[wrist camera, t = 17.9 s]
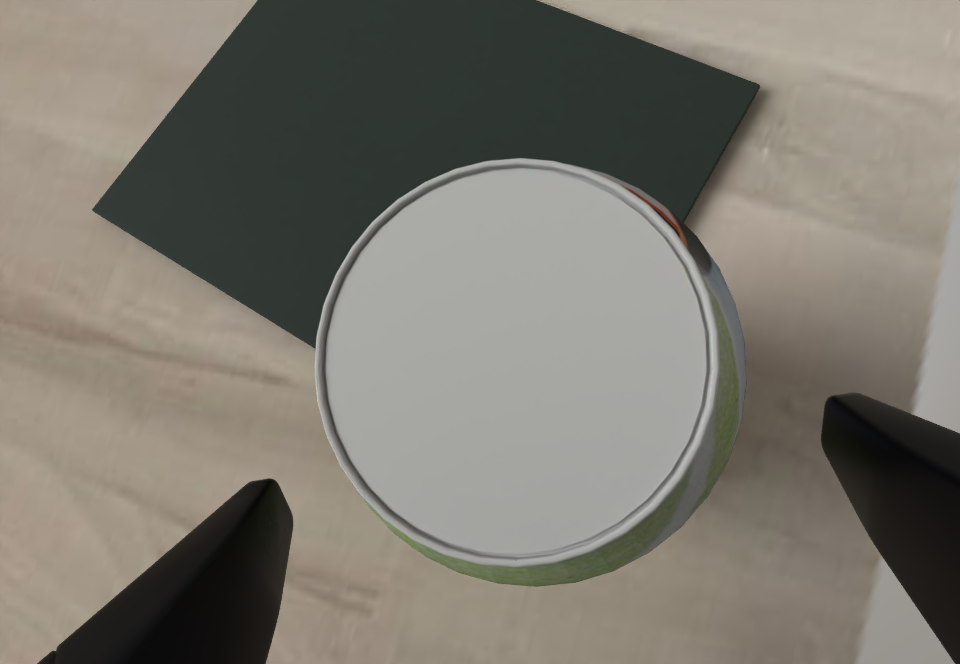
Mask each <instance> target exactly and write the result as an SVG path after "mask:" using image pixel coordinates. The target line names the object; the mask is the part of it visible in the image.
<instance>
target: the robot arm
mask: <svg viewBox="0 0 960 664" xmlns="http://www.w3.org/2000/svg"><path fill="white" fill-rule="evenodd" d="M821 443H822V447H823V450H824V453H825V455H826V457H827V459H828V460H829V462H830V464H831V466H832V468H833V470H834V472H835V474H836V475H837V477H838V479H839V481H840V483H841V485H842V487H843V489H844V491H845V492H846V494H847V496H848V498H849V500H850V502H851V504H852V506H853V507H854V509H855V511H856V513H857V515H858V517H859V519H860V521H861V522H862V524H863V526H864V528H865V530H866V531H867V533H868V535H869V537H870V538H871V540H872V541H873V543H874V545H875V546H876V548H877V549H878V551H879V552H880V554H881V555H882V557H883V558H884V560H885V561H886V563H887V564H888V566H889V567H890V568H891V570H892V571H893V573H894V574H895V576H896V577H897V579H898V580H899V582H900V583H901V585H902V586H903V588H904V589H905V590H906V592H907V593H908V595H909V596H910V598H911V599H912V601H913V602H914V604H915V605H916V607H917V608H918V610H919V611H920V613H921V614H922V616H923V617H924V619H925V620H926V621H927V623H928V624H929V626H930V627H931V629H932V630H933V632H934V633H935V635H936V636H937V637H938V639H939V641H940V642H941V644H942V645H943V646H944V648H945V649H946V651H947V652H948V654H949V655H950V657H951V658H952V660H953V661H954V663H955V664H960V434H959V433H957V432H955V431H952V430H950V429H947V428H945V427H942V426H940V425H937V424H934V423H932V422H930V421H927V420H925V419H922V418H920V417H917V416H915V415H912V414H910V413H907V412H905V411H902V410H900V409H897V408H895V407H892V406H890V405H887V404H885V403H882V402H880V401H877V400H875V399H872V398H870V397H867V396H865V395H862V394H859V393H847V394H840V395H834V396H831V397H829V398H828V399H827V401H826V403H825V408H824V417H823V425H822V434H821ZM292 531H293V516H292V513H291V510H290V508H289V506H288V504H287V501H286V499H285V497H284V495H283V493H282V491H281V488H280V486H279V484H278V483H277V482H276V481H275V480H274V479H264V480H257V481H252V482H249V483H248V484H246V485H245V486H244V487H243V488H242V489H240V490H239V491H238V492H237V493H236V494H235V495H233V496H232V497H231V498H230V499H229V500H228V501H226V502H225V503H224V504H223V505H222V506H221V507H219V508H218V509H217V510H216V511H215V512H214V513H212V514H211V515H210V516H209V517H208V518H207V519H205V520H204V521H203V522H202V523H201V524H200V525H198V526H197V527H196V528H195V529H194V530H193V531H191V532H190V533H189V534H188V535H187V536H186V537H184V538H183V539H182V540H181V541H180V542H179V543H177V544H176V545H175V546H174V547H173V548H172V549H170V550H169V551H168V552H167V553H166V554H165V555H163V556H162V557H161V558H160V559H159V560H158V561H156V562H155V563H154V564H153V565H152V566H151V567H149V568H148V569H147V570H146V571H145V572H144V573H142V574H141V575H140V576H139V577H138V578H137V579H135V580H134V581H133V582H132V583H131V584H130V585H128V586H127V587H126V588H125V589H124V590H123V591H122V592H120V593H119V594H118V595H117V596H116V597H115V598H113V599H112V600H111V601H110V602H109V603H108V604H106V605H105V606H104V607H103V608H102V609H101V610H99V611H98V612H97V613H96V614H95V615H94V616H92V617H91V618H90V619H89V620H88V621H87V622H85V623H84V624H83V625H82V626H81V627H80V628H78V629H77V630H76V631H75V632H74V633H73V634H71V635H70V636H69V637H68V638H67V639H66V640H64V641H63V642H62V643H61V644H60V645H59V646H58V647H57V650H56V651H52V652H50V653H49V654H48V655H47V656H46V657H44V658H43V659H42V660H41V661H40V662H39V663H37V664H266V660H267V657H268V653H269V649H270V646H271V642H272V638H273V635H274V631H275V627H276V623H277V619H278V615H279V610H280V605H281V600H282V594H283V587H284V581H285V575H286V569H287V563H288V556H289V550H290V544H291V538H292Z"/></svg>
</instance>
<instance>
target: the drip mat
mask: <svg viewBox="0 0 960 664" xmlns="http://www.w3.org/2000/svg"><path fill="white" fill-rule="evenodd" d="M759 87H760V85H759V84H756V83H754V82H751V81H748V80H746V79H743V78H741V77H738V76H735V75H733V74H730V73H727V72H725V71H722V70H719V69H717V68H714V67H711V66H709V65H706V64H703V63H701V62H698V61H695V60H693V59H690V58H688V57H685V56H682V55H680V54H677V53H674V52H672V51H669V50H666V49H664V48H661V47H658V46H656V45H653V44H650V43H648V42H645V41H642V40H640V39H637V38H635V37H632V36H629V35H627V34H624V33H621V32H619V31H616V30H613V29H611V28H608V27H605V26H603V25H600V24H597V23H595V22H592V21H589V20H587V19H584V18H582V17H579V16H576V15H574V14H571V13H568V12H566V11H563V10H560V9H558V8H555V7H552V6H550V5H547V4H544V3H542V2H539V1H536V0H258V1H257V2H256V3H255V5H254V6H253V7H252V8H251V10H250V11H249V12H248V13H247V15H246V16H245V17H244V18H243V20H242V21H241V22H240V23H239V25H238V26H237V27H236V29H235V30H234V31H233V32H232V34H231V35H230V36H229V37H228V39H227V40H226V41H225V42H224V44H223V45H222V46H221V47H220V49H219V50H218V51H217V53H216V54H215V55H214V56H213V58H212V59H211V60H210V61H209V63H208V64H207V65H206V66H205V68H204V69H203V70H202V72H201V73H200V74H199V75H198V77H197V78H196V79H195V80H194V82H193V83H192V84H191V85H190V87H189V88H188V89H187V90H186V92H185V93H184V94H183V96H182V97H181V98H180V99H179V101H178V102H177V103H176V104H175V106H174V107H173V108H172V109H171V111H170V112H169V113H168V114H167V116H166V117H165V118H164V120H163V121H162V122H161V123H160V125H159V126H158V127H157V128H156V130H155V131H154V132H153V133H152V135H151V136H150V137H149V138H148V140H147V141H146V142H145V144H144V145H143V146H142V147H141V149H140V150H139V151H138V152H137V154H136V155H135V156H134V157H133V159H132V160H131V161H130V162H129V164H128V165H127V166H126V168H125V169H124V170H123V171H122V173H121V174H120V175H119V176H118V178H117V179H116V180H115V181H114V183H113V184H112V185H111V186H110V188H109V189H108V190H107V192H106V193H105V194H104V195H103V197H102V198H101V199H100V200H99V202H98V203H97V204H96V205H95V207H94V208H93V209H92V210H93V211H94V212H95V213H97V214H98V215H100V216H102V217H103V218H105V219H106V220H108V221H110V222H111V223H113V224H115V225H116V226H118V227H119V228H121V229H123V230H124V231H126V232H128V233H129V234H131V235H132V236H134V237H136V238H137V239H139V240H140V241H142V242H144V243H145V244H147V245H149V246H150V247H152V248H153V249H155V250H157V251H158V252H160V253H162V254H163V255H165V256H166V257H168V258H170V259H171V260H173V261H174V262H176V263H178V264H179V265H181V266H183V267H184V268H186V269H187V270H189V271H191V272H192V273H194V274H196V275H197V276H199V277H200V278H202V279H204V280H205V281H207V282H208V283H210V284H212V285H213V286H215V287H217V288H218V289H220V290H221V291H223V292H225V293H226V294H228V295H229V296H231V297H233V298H234V299H236V300H238V301H239V302H241V303H242V304H244V305H246V306H247V307H249V308H251V309H252V310H254V311H255V312H257V313H259V314H260V315H262V316H263V317H265V318H267V319H268V320H270V321H272V322H273V323H275V324H276V325H278V326H280V327H281V328H283V329H285V330H286V331H288V332H289V333H291V334H293V335H294V336H296V337H297V338H299V339H301V340H302V341H304V342H306V343H307V344H309V345H310V346H312V347H314V348H315V349H316V337H317V332H318V328H319V323H320V319H321V315H322V310H323V306H324V303H325V300H326V298H327V295H328V293H329V290H330V288H331V285H332V283H333V280H334V278H335V275H336V273H337V272H338V270H339V268H340V266H341V265H342V263H343V261H344V260H345V258H346V256H347V255H348V253H349V251H350V249H351V248H352V246H353V245H354V244H355V243H356V241H357V240H358V239H359V238H360V237H361V235H362V234H363V233H364V232H365V230H366V229H367V228H368V227H369V226H370V224H371V223H372V222H373V221H374V220H375V219H376V218H377V217H378V216H380V215H381V214H382V213H383V212H384V211H385V210H386V209H387V208H389V207H390V206H391V205H392V204H393V203H394V202H395V201H397V200H398V199H399V198H401V197H402V196H404V195H406V194H407V193H409V192H410V191H412V190H413V189H415V188H417V187H418V186H420V185H421V184H423V183H424V182H426V181H429V180H431V179H433V178H436V177H438V176H440V175H443V174H445V173H447V172H450V171H452V170H454V169H457V168H461V167H465V166H469V165H473V164H477V163H481V162H485V161H493V160H505V159H517V158H525V159H536V160H548V161H556V162H560V163H564V164H571V165H575V166H579V167H582V168H586V169H590V170H594V171H598V172H602V173H605V174H608V175H610V176H612V177H615V178H617V179H619V180H621V181H623V182H626V183H628V184H630V185H632V186H634V187H637V188H639V189H640V190H642V191H643V192H645V193H646V194H648V195H649V196H651V197H652V198H654V199H655V200H656V201H658V202H659V203H661V204H662V205H664V206H665V207H667V208H668V209H669V210H671V211H672V212H673V213H674V214H675V215H676V216H677V217H678V218H679V219H680V220H681V221H682V222H684V221H685V219H686V217H687V215H688V213H689V212H690V210H691V208H692V206H693V205H694V203H695V201H696V199H697V198H698V196H699V194H700V192H701V191H702V189H703V187H704V185H705V184H706V182H707V180H708V178H709V176H710V175H711V173H712V171H713V169H714V168H715V166H716V164H717V162H718V161H719V159H720V157H721V155H722V154H723V152H724V150H725V148H726V146H727V145H728V143H729V141H730V139H731V138H732V136H733V134H734V132H735V131H736V129H737V127H738V125H739V124H740V122H741V120H742V118H743V117H744V115H745V113H746V111H747V109H748V108H749V106H750V104H751V102H752V101H753V99H754V97H755V95H756V94H757V92H758V89H759Z"/></svg>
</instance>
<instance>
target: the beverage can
mask: <svg viewBox="0 0 960 664" xmlns="http://www.w3.org/2000/svg"><path fill="white" fill-rule="evenodd" d="M314 370H315V380H316V390H317V400H318V406H319V409H320V413H321V417H322V421H323V424H324V428H325V432H326V435H327V438H328V440H329V442H330V444H331V446H332V449H333V451H334V453H335V455H336V457H337V459H338V462H339V464H340V466H341V468H342V469H343V470H344V472H345V473H346V475H347V476H348V478H349V479H350V481H351V482H352V484H353V485H354V487H355V488H356V489H357V491H358V492H359V494H360V495H361V496H362V497H363V498H364V500H365V501H366V503H367V504H368V506H369V507H370V509H371V510H372V511H373V512H374V513H375V514H376V515H377V516H378V517H379V518H380V519H381V520H382V521H383V522H384V523H385V524H386V525H387V526H388V527H389V528H390V529H391V530H392V531H393V532H394V533H395V534H396V535H397V536H398V537H399V538H401V539H402V540H404V541H405V542H406V543H408V544H409V545H410V546H412V547H413V548H415V549H416V550H417V551H419V552H420V553H422V554H423V555H424V556H426V557H428V558H430V559H432V560H434V561H436V562H438V563H440V564H442V565H444V566H446V567H448V568H451V569H453V570H455V571H457V572H459V573H462V574H465V575H469V576H473V577H476V578H480V579H484V580H487V581H491V582H495V583H500V584H512V585H524V586H536V587H537V586H546V585H556V584H566V583H575V582H579V581H582V580H585V579H589V578H592V577H595V576H599V575H602V574H605V573H609V572H612V571H615V570H617V569H618V568H620V567H622V566H624V565H626V564H628V563H630V562H632V561H634V560H636V559H638V558H640V557H641V556H643V555H645V554H647V553H649V552H651V551H652V550H653V549H654V548H656V547H657V546H658V545H659V544H661V543H662V542H663V541H664V540H666V539H667V538H668V537H669V536H671V535H672V534H673V533H674V532H676V531H677V530H678V529H679V528H681V527H682V526H683V525H684V523H685V522H686V521H687V520H688V519H689V518H690V516H691V515H692V514H693V513H694V512H695V511H696V509H697V508H698V507H699V506H700V505H701V504H702V502H703V501H704V500H705V499H706V498H707V497H708V495H709V493H710V491H711V490H712V488H713V486H714V484H715V483H716V481H717V479H718V477H719V476H720V474H721V472H722V470H723V469H724V467H725V465H726V463H727V462H728V459H729V456H730V453H731V450H732V447H733V445H734V442H735V439H736V436H737V433H738V430H739V427H740V424H741V419H742V411H743V404H744V397H745V390H746V383H747V381H746V362H745V342H744V338H743V334H742V330H741V326H740V322H739V318H738V313H737V309H736V305H735V302H734V300H733V298H732V296H731V294H730V291H729V289H728V287H727V285H726V282H725V280H724V278H723V276H722V274H721V271H720V269H719V268H718V266H717V265H716V263H715V262H714V260H713V259H712V257H711V256H710V255H709V253H708V252H707V250H706V249H705V247H704V246H703V245H702V243H701V242H700V240H699V239H698V237H697V236H696V235H695V234H694V233H693V232H692V231H691V230H690V229H689V228H688V227H687V226H686V225H685V224H684V223H683V222H682V221H681V220H680V219H679V218H678V217H677V216H676V215H675V214H674V213H673V212H672V211H671V210H669V209H668V208H667V207H665V206H664V205H662V204H661V203H659V202H658V201H656V200H655V199H654V198H652V197H651V196H649V195H648V194H646V193H645V192H643V191H642V190H640V189H639V188H637V187H634V186H632V185H630V184H628V183H626V182H623V181H621V180H619V179H617V178H615V177H612V176H610V175H608V174H605V173H602V172H598V171H594V170H590V169H586V168H582V167H579V166H575V165H571V164H564V163H560V162H556V161H548V160H536V159H525V158H517V159H505V160H493V161H485V162H481V163H477V164H473V165H469V166H465V167H461V168H457V169H454V170H452V171H450V172H447V173H445V174H443V175H440V176H438V177H436V178H433V179H431V180H429V181H426V182H424V183H423V184H421V185H420V186H418V187H417V188H415V189H413V190H412V191H410V192H409V193H407V194H406V195H404V196H402V197H401V198H399V199H398V200H397V201H395V202H394V203H393V204H392V205H391V206H390V207H389V208H387V209H386V210H385V211H384V212H383V213H382V214H381V215H380V216H378V217H377V218H376V219H375V220H374V221H373V222H372V223H371V224H370V226H369V227H368V228H367V229H366V230H365V232H364V233H363V234H362V235H361V237H360V238H359V239H358V240H357V241H356V243H355V244H354V245H353V246H352V248H351V249H350V251H349V253H348V255H347V256H346V258H345V260H344V261H343V263H342V265H341V266H340V268H339V270H338V272H337V273H336V275H335V278H334V280H333V283H332V285H331V288H330V290H329V293H328V295H327V298H326V300H325V303H324V306H323V310H322V315H321V319H320V323H319V328H318V332H317V337H316V353H315V369H314Z"/></svg>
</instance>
